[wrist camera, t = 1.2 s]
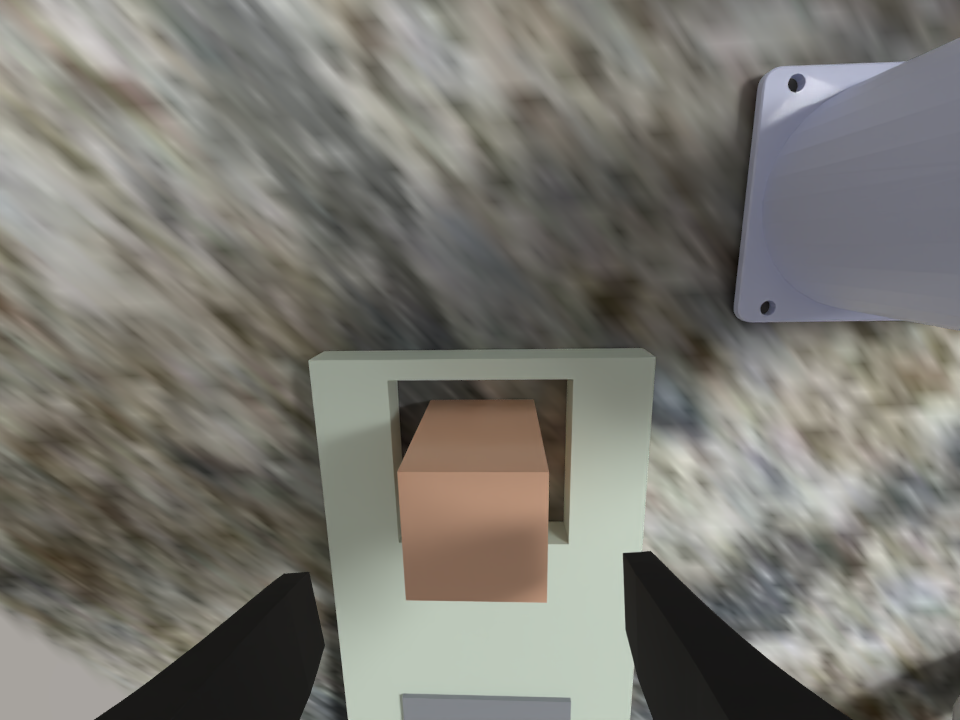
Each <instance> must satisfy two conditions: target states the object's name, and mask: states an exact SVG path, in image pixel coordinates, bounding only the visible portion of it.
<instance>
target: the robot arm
mask: <svg viewBox="0 0 960 720" xmlns="http://www.w3.org/2000/svg"><path fill="white" fill-rule="evenodd" d="M790 78H793V79H795V80H796V81H797V85H798V88H797V90H796V92H791V91H790V89H789V88H788V81H789V79H790ZM765 301H768V302H769V305H770V307H769V310H768V311H767V312H766V313H764V314H762V313H761V311H760V307H761V305H762V304H763V303H764V302H765ZM734 313H735V315H736V317H737V318H739V319H740V320H742V321H746V322H823V321H910V322H915V323H921V324H926V325H932V326H937V327H942V328H948V329H953V330H959V331H960V37H959V38H957V39H955V40H953V41H950V42H948V43H946V44H944V45H942V46H939V47H937V48H935V49H933V50H931V51H928V52H926V53H924V54H922V55H920V56H918V57H915V58H913V59H911V60H909V61H904V62H877V63H851V64H825V65H798V66H780V67H776V68H774V69H772V70H771V71H769V72H768V73H766V74H765V75H764V76H763V77H762V78H761V80H760V81H759V85H758V89H757V98H756V107H755V116H754V125H753V134H752V144H751V153H750V162H749V171H748V180H747V189H746V198H745V208H744V217H743V226H742V235H741V244H740V253H739V263H738V272H737V281H736V290H735V299H734ZM623 576H624V605H625V630H626V634H627V638H628V642H629V646H630V650H631V654H632V658H633V661H634V665H635V669H636V672H637V676H638V680H639V682H640V685H641V688H642V691H643V693H644V696H645V699H646V702H647V704H648V707H649V710H650V712H651V715H652V718H653V720H852V719H850V718H849V717H848V716H846V715H845V714H843V713H842V712H840V711H839V710H837V709H836V708H834V707H833V706H831V705H830V704H828V703H827V702H826V701H824V700H823V699H821V698H820V697H819V696H817V695H816V694H814V693H813V692H812V691H810V690H809V689H808V688H806V687H805V686H803V685H802V684H801V683H799V682H798V681H797V680H795V679H794V678H792V677H791V676H790V675H788V674H787V673H786V672H784V671H783V670H782V669H780V668H779V667H778V666H777V665H775V664H774V663H773V662H771V661H770V660H769V659H768V658H766V657H765V656H764V655H763V654H761V653H760V652H759V651H758V650H757V649H755V648H754V647H753V646H752V645H751V644H749V643H748V642H747V641H746V640H745V639H743V638H742V637H741V636H740V635H739V634H738V633H737V632H735V631H734V630H733V629H732V628H731V627H730V626H728V625H727V624H726V623H725V622H724V621H723V620H722V619H721V618H720V617H719V616H717V615H716V614H715V613H714V612H713V611H712V610H711V609H710V608H709V607H708V606H706V605H705V604H704V603H703V602H702V601H701V600H700V599H699V598H698V597H697V596H696V595H695V594H694V593H693V592H692V591H691V590H690V589H689V588H688V587H687V586H686V585H685V584H683V583H682V582H681V581H680V580H679V579H678V578H677V577H676V576H675V575H674V574H673V573H672V572H671V571H670V570H669V569H668V568H667V567H666V566H665V565H664V564H663V563H662V562H661V561H660V560H659V559H658V558H657V557H656V556H655V555H654V554H653V553H652V552H651V551H646V552H630V553H623ZM324 647H325V644H324V639H323V634H322V630H321V625H320V620H319V616H318V611H317V606H316V602H315V597H314V593H313V588H312V583H311V579H310V574H309V572H304V573H288V574H283V575H282V576H280V577H279V578H277V579H276V580H275V581H274V582H272V583H271V584H270V585H268V586H267V587H266V588H265V589H263V590H262V591H261V592H260V593H259V594H257V595H256V596H255V597H254V598H253V599H251V600H250V601H249V602H248V603H247V604H245V605H244V606H243V607H242V608H241V609H239V610H238V611H237V612H236V613H235V614H233V615H232V616H231V617H230V618H228V619H227V620H226V621H225V622H224V623H222V624H221V625H220V626H219V627H217V628H216V629H215V630H214V631H213V632H211V633H210V634H209V635H208V636H207V637H205V638H204V639H203V640H202V641H200V642H199V643H198V644H197V645H195V646H194V647H193V648H191V649H190V650H189V651H188V652H186V653H185V654H184V655H182V656H181V657H180V658H178V659H177V660H176V661H175V662H173V663H172V664H171V665H169V666H168V667H167V668H166V669H164V670H163V671H162V672H160V673H159V674H158V675H156V676H155V677H154V678H153V679H151V680H150V681H149V682H147V683H146V684H145V685H143V686H142V687H140V688H139V689H138V690H136V691H135V692H134V693H132V694H131V695H129V696H128V697H127V698H125V699H124V700H123V701H121V702H119V703H118V704H117V705H115V706H114V707H112V708H111V709H109V710H108V711H106V712H105V713H103V714H102V715H100V716H99V717H98V718H96V719H94V720H300V717H301V715H302V713H303V710H304V708H305V705H306V703H307V701H308V698H309V696H310V693H311V690H312V687H313V684H314V680H315V677H316V674H317V671H318V667H319V664H320V660H321V657H322V653H323V650H324Z"/></svg>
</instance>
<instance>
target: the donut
mask: <svg viewBox="0 0 960 720" xmlns="http://www.w3.org/2000/svg"><path fill="white" fill-rule="evenodd" d="M952 720H960V695H959V696H958V698H957V700H956V702H955V703H954V705H953V717H952Z"/></svg>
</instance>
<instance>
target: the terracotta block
mask: <svg viewBox="0 0 960 720" xmlns="http://www.w3.org/2000/svg"><path fill="white" fill-rule="evenodd" d="M397 477H398V491H399V506H400V521H401V536H402V551H403V566H404V581H405V596H406V600H413V601H473V602H533V603H547V573H548V511H549V469H548V465H547V460H546V455H545V450H544V446H543V441H542V436H541V431H540V427H539V422H538V417H537V412H536V408H535V403H534V399H533V400H430V402H429V405H428V407H427V409H426V411H425V413H424V415H423V418H422V420H421V422H420V424H419V426H418V428H417V430H416V433H415V435H414V437H413V439H412V441H411V443H410V445H409V448H408V450H407V452H406V454H405V456H404V458H403V460H402V463H401V465H400V467H399V469H398V471H397Z"/></svg>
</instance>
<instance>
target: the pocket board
mask: <svg viewBox="0 0 960 720" xmlns="http://www.w3.org/2000/svg"><path fill="white" fill-rule="evenodd" d="M308 361H309V370H310V379H311V389H312V398H313V407H314V416H315V425H316V434H317V443H318V452H319V461H320V470H321V479H322V488H323V497H324V506H325V515H326V524H327V533H328V543H329V552H330V561H331V570H332V579H333V588H334V597H335V606H336V615H337V624H338V633H339V642H340V651H341V660H342V669H343V678H344V687H345V697H346V706H347V715H348V720H630V713H631V699H632V685H633V671H634V661H633V658H632V654H631V650H630V646H629V642H628V638H627V634H626V630H625V605H624V576H623V553H630V552H642V545H643V531H644V517H645V503H646V489H647V475H648V461H649V447H650V433H651V419H652V405H653V391H654V377H655V363H656V357H655V356H653V355H652V354H650V353H649V352H648V351H646V350H645V349H644V348H592V349H492V350H391V351H324V352H322V353H320V354H319V355H317V356H315V357H313V358H312V359H310V360H308ZM535 379H567V406H566V445H565V485H564V522H549V521H548V573H547V603H533V602H473V601H413V600H406V596H405V581H404V566H403V551H402V536H401V521H400V506H399V491H398V477H397V471H398V469H399V467H400V465H401V463H402V445H401V430H400V414H399V399H398V383H397V380H535Z"/></svg>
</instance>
